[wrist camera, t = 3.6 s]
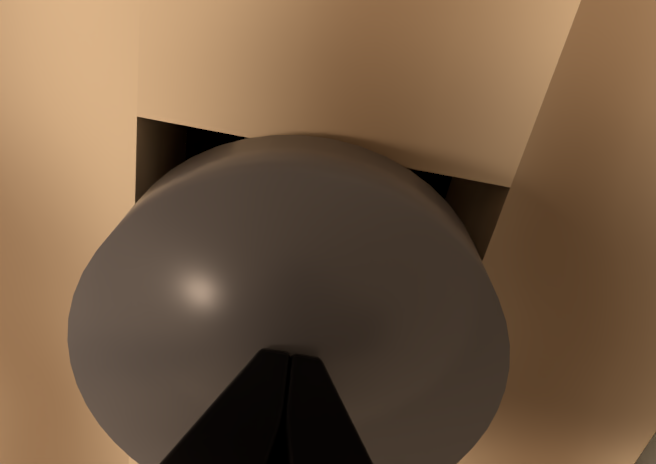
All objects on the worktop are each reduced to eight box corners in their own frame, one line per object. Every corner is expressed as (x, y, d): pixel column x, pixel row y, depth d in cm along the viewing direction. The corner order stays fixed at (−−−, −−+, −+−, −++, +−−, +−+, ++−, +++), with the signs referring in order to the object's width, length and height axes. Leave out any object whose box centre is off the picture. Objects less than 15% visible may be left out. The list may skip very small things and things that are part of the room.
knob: (159, 316, 13) (74, 486, 9) (173, 55, 10) (57, 126, 6) (409, 357, 13) (438, 539, 9) (489, 117, 10) (584, 225, 6)
